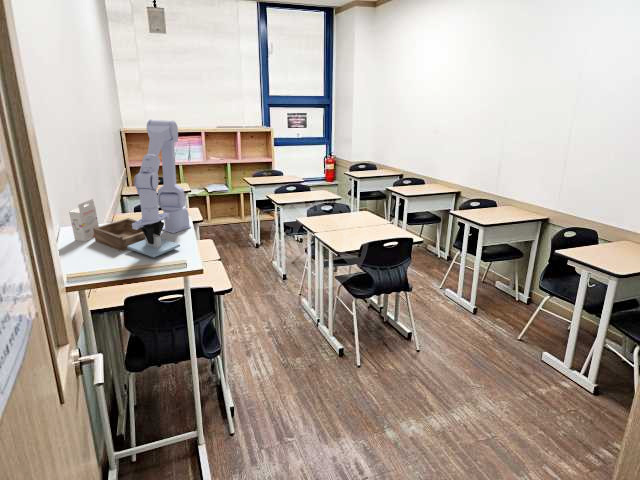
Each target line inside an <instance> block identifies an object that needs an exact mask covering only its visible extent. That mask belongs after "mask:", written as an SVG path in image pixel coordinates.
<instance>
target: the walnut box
mask: <svg viewBox="0 0 640 480" xmlns="http://www.w3.org/2000/svg"><path fill="white" fill-rule="evenodd" d="M137 221H138V220H136V219H133V218H129V217H127V218H124V219H121V220H117V221H114V222H110V223H107V224H103V225H99V227H96V228H93V230H94V236H95V237H94V241H95V242H97V243H99V244H102V245H105V246H106V247H109V248H113V249H114V250H118V251H120V252H122V251H125V250H129V249H128V248H127V246H129V245H131V244H134V243H137V242H139V241H142V240H145V234H144V233H143V231H142V230H141V229H140V228H139V229H137V230H135V229H132V223H135V222H137Z"/></svg>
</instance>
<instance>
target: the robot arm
mask: <svg viewBox="0 0 640 480" xmlns="http://www.w3.org/2000/svg"><path fill="white" fill-rule="evenodd" d="M146 132H147V135H148V138H149V142H148V149H147V154H144V155H143V157H142V161H141V165H140V169H139V172H138V173H137V174H135V176H134V187H135V190H136V193H137V195H139V202H140V203H139V204H140V210H141V211H140V212H141V218H140V219H139V220H136V221H137V222H135V223H132V229H135V230H137V229H139V228H140V229H141V230H142V231H143V233H144V234H145V236H146V238H147V241H148V243H149V244H154V238H153V234H156V235H159V236H161V233H162V231H165V232H168V233H170V234H176V233H178V232H181V231H184V230H187V229H189V228H192V226H191V225H190V218H189V216H190V215H189V211H188V208H187V207H186V195H185V190H184V188H183V187H181V186H180V185H179V184H177V173H176V172H177V171H176V153H175V143H177V142H179V128H178V125H177V123H176V121H175V120H162V119H160V120H159V119H149V120H148V121H147V123H146ZM160 153H161V159H160V157H159V155H160ZM161 162H162V164H161V165H162V166H161V167H162V181H163V185H162V186H160V188H158V187H159V174H158V173H159V168H160V163H161ZM160 208H161V210H162V211H163V212H162V213H160V212H159V211H160V210H159V209H160Z"/></svg>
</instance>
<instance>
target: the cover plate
mask: <svg viewBox="0 0 640 480" xmlns="http://www.w3.org/2000/svg"><path fill="white" fill-rule="evenodd" d="M153 238H154V244H149V243H148V241H147V238H146V236H145V240H142V241H139V242H137V243H134V244H131V245H129V246H127V248H128V249H127V250H132V251H135V252H137V253H140V254H142V255H145V256H148V257H151V258H156V257H158V256H160V255H163V254H165V253H168V252H170V251H172V250H176V249H177V248H180V247H181V244H180V243H177V242H173V241H171V240H167V239H165V238H162V237H161V235H160V236H159V235H156V234H153Z"/></svg>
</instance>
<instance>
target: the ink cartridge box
mask: <svg viewBox="0 0 640 480" xmlns="http://www.w3.org/2000/svg"><path fill="white" fill-rule="evenodd" d="M68 212H69V213H68V215H69V217H70V221H71V227H72V228H71V229H72V232H73V236H74V238H73V239H74V241H77V242H88V241H90V240H92V239H93V238H95V236H94V230H93V228H96V227H99V226H100V225H99V220H98V215H97V209H96V206H95V201H94V199H93V198H91V199H89V200H86V201H83V202H81V203H78V205H77V208H75V209H73V210H71V211H68Z"/></svg>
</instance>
